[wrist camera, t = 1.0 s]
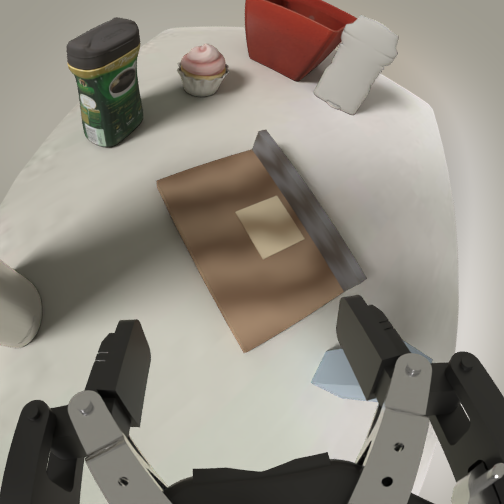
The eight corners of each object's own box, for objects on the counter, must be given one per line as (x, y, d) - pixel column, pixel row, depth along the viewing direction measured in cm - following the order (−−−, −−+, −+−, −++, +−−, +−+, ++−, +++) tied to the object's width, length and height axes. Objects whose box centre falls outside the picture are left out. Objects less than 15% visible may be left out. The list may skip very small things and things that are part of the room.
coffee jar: (118, 103, 42) (112, 10, 25) (150, 119, 42) (152, 18, 25) (77, 137, 38) (53, 40, 21) (109, 156, 38) (90, 49, 21)
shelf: (157, 187, 38) (155, 161, 33) (259, 152, 44) (269, 128, 39) (244, 352, 32) (255, 350, 27) (347, 288, 39) (369, 276, 34)
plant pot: (304, 96, 53) (337, 31, 38) (227, 57, 53) (244, -8, 38) (332, 69, 61) (359, 19, 46) (268, 37, 61) (286, -14, 46)
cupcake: (170, 77, 47) (173, 34, 38) (216, 72, 50) (225, 31, 41) (181, 106, 44) (185, 58, 35) (231, 99, 47) (243, 55, 38)
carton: (310, 382, 33) (381, 386, 20) (326, 351, 35) (398, 337, 22) (342, 398, 33) (418, 404, 20) (356, 368, 35) (433, 360, 22)
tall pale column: (309, 95, 53) (353, 10, 33) (314, 87, 55) (355, 7, 35) (354, 120, 54) (408, 42, 34) (357, 111, 55) (407, 36, 36)
